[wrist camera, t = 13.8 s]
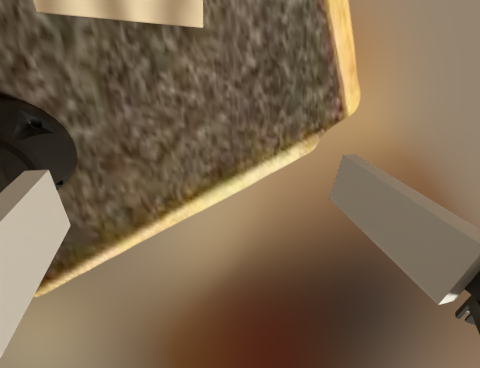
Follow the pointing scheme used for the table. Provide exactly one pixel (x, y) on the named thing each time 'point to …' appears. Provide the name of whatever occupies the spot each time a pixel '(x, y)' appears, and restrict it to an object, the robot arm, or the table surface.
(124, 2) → the board
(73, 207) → the table surface
